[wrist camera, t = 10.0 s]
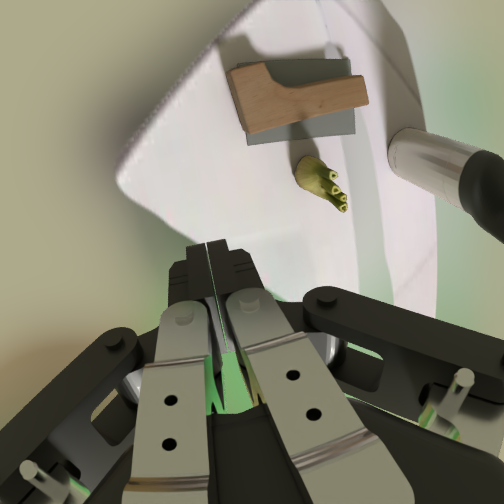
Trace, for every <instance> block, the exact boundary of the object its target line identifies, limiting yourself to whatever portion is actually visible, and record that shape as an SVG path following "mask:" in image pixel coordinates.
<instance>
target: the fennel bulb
mask: <svg viewBox="0 0 504 504" xmlns="http://www.w3.org/2000/svg"><path fill="white" fill-rule="evenodd" d="M337 177H338V173H337V172H335V171H334V170H331V169H329V168H327V166H326V164H325V163H324V162H323V161H321V160H320V159H318V158H315V157H311V156H304V157H303V158H302V159H301V160H300V162H299V164H298V166H297V168H296V171H295V180H296V182H297V184H298V185H299V186H300V187H301V188H303V189H304V190H307V191H309V192H311V193H313V194H315V195H317V196H319V197H321V198H323V199H326V200H328V201H330V202H331V203H332V204H333V205H334V206H335V207H336V208H337V209H338V210H339V211H341V212H343V213H344V212H346V211H347V208H348V207H347V203H346V202H345V201H346V200H347V196H346V194H344V193H342V192H341V189H340V188H339V187H338V186H337V185H336V184H335V183H334V182H333V181H332V180H334V179H336V178H337Z"/></svg>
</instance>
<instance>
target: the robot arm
mask: <svg viewBox="0 0 504 504" xmlns="http://www.w3.org/2000/svg"><path fill="white" fill-rule="evenodd" d="M388 160H389V164H390V167H391V169H392V171H393V172H394V173H395V174H396V175H397V176H398V177H400V178H403V179H405V180H407V181H409V182H411V183H412V184H414V185H416V186H418V187H420V188H422V189H424V190H426V191H428V192H430V193H432V194H434V195H436V196H438V197H440V198H442V199H444V200H445V201H447V202H449V203H451V204H453V205H454V206H456V207H458V208H460V209H462V210H463V211H465V212H467V213H469V214H470V215H472V217H473V218H474V220H475V221H476V222H477V224H478V225H479V226H480V227H482V228H483V229H484V230H485V231H487V232H488V233H490V234H491V235H492V236H494V237H495V238H496V239H498V240H499V241H500V242H502V243H503V244H504V160H503V159H502V158H501V157H500V156H499V155H497V154H494V153H492V152H489V151H486V150H483V149H481V148H478V147H475V146H471V145H468V144H465V143H462V142H459V141H456V140H452V139H449V138H446V137H442V136H439V135H435V134H431V133H428V132H425V131H421V130H417V129H413V128H406V129H402V130H401V131H399V132H398V133H397V134H396V135H395V136H394V137H393V139H392V141H391V143H390V146H389V150H388ZM206 243H207V248H208V254H209V259H210V264H211V270H212V275H213V280H212V275H211V271H210V265H209V261H208V256H207V251H206V246H205V243H202V244H197V245H192V246H187V247H186V255H187V256H186V258H187V260H182V261H178V262H174V264H173V265H172V267H171V268H170V269H169V288H168V308H167V309H166V310H165V311H164V312H163V313H162V315H161V318H160V324H159V326H158V327H157V328H155V329H153V330H151V331H149V332H147V333H145V334H142V335H140V336H137V335H136V333H135V332H134V331H133V330H132V329H130V328H126V327H119V328H114V329H111V330H108V331H106V332H105V333H103V334H102V335H101V336H99V337H98V338H97V339H96V340H95V341H94V342H93V343H92V344H91V345H89V346H88V347H87V348H86V349H85V350H84V351H83V352H82V353H81V354H80V355H79V356H78V357H76V358H75V359H74V360H73V361H72V362H71V363H70V364H69V365H68V366H67V367H66V368H65V369H64V370H62V372H60V374H58V375H57V376H56V377H55V378H54V379H53V380H52V381H51V382H50V383H49V384H48V385H47V386H46V387H45V388H43V389H42V391H40V392H39V393H38V394H37V395H36V396H35V397H34V398H33V399H32V400H31V401H30V402H29V403H28V404H27V405H26V406H25V407H24V408H23V409H22V410H21V411H20V412H19V413H18V414H17V415H16V416H15V417H14V418H13V419H12V420H11V421H10V422H9V423H8V424H7V425H6V426H5V427H4V428H3V429H2V430H1V431H0V504H504V463H503V461H501V460H500V459H499V458H498V455H499V452H500V449H501V445H502V441H503V437H504V340H501V339H498V338H495V337H492V336H489V335H485V334H482V333H479V332H476V331H473V330H469V329H466V328H463V327H460V326H457V325H453V324H450V323H447V322H444V321H441V320H438V319H434V318H431V317H428V316H425V315H422V314H419V313H415V312H412V311H409V310H406V309H403V308H400V307H397V306H393V305H390V304H387V303H384V302H381V301H378V300H375V299H371V298H368V297H365V296H362V295H359V294H356V293H353V292H350V291H347V290H344V289H340V288H337V287H332V286H322V287H317V288H314V289H312V290H310V291H308V292H307V293H306V294H305V295H304V297H303V302H282V301H278V300H275V299H274V297H273V295H272V294H271V293H270V292H269V291H267V290H265V288H264V286H263V284H262V281H261V279H260V277H259V274H258V272H257V270H256V267H255V265H254V263H253V260H252V258H251V256H250V254H249V253H248V252H246V251H245V250H243V249H237V250H232V251H229V249H228V246H227V243H226V240H225V239H221V240H216V241H211V242H206ZM213 281H214V284H213ZM214 285H215V289H214ZM215 290H216V294H215ZM216 296H217V299H216ZM217 300H218V304H217ZM218 305H219V310H220V314H221V318H222V322H223V327H224V331H225V336H226V340H227V344H228V348H229V352H234V351H235V352H236V356H237V360H238V364H239V369H240V372H241V375H242V378H243V381H244V383H245V386H246V389H247V392H248V394H249V397H250V399H251V403H252V405H253V408H251V409H249V410H246V411H244V412H242V413H238V414H227V405H226V396H225V384H224V374H223V370H222V365H223V362H222V357H221V354H224V353H227V349H226V344H225V339H224V334H223V329H222V325H221V320H220V315H219V310H218ZM348 342H350V343H352V344H355V345H358V346H360V347H363V348H365V349H368V350H371V351H373V352H376V353H377V354H379V355H380V356H381V357H382V358H383V360H381V359H378V358H375V357H373V356H370V355H368V354H365V353H362V352H360V351H357V350H355V349H352V348H349V347H347V345H348ZM114 388H115V389H116V391H117V392H118V395H117V396H116V397H115V398H114V399H113V400H112V401H111V402H110V403H109V404H108V405H107V406H106V407H105V409H104V410H103V411H102V412H101V413H100V414H99V415H98V416H97V417H96V418H95V419H94V420H93V421H92V422H91V415H92V413H93V411H94V410H95V408H96V407H97V406H98V405H99V404H100V403H101V402H102V401H103V400H104V399H105V398H106V397H107V396H108V395H109V394H110V393H111V391H113V389H114ZM343 392H344V393H346V394H348V395H351V396H353V397H356V398H358V399H360V400H362V401H360V400H356V399H353V398H348V397H346V396H345V395H344V393H343ZM363 401H365V402H367V403H370V404H372V405H374V406H377V407H379V408H382V409H384V410H386V411H389V412H392V413H394V414H396V415H399V416H401V417H404V418H407V419H409V420H412V421H415V422H417V423H419V426H417V425H415V424H413V423H410V422H408V421H405V420H403V419H401V418H399V417H396V416H394V415H392V414H389V413H387V412H385V411H383V410H380V409H378V408H376V407H374V406H372V405H370V404H367V403H365V402H363Z"/></svg>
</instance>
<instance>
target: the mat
mask: <svg viewBox="0 0 504 504" xmlns="http://www.w3.org/2000/svg"><path fill="white" fill-rule="evenodd" d="M261 62H263V63H264V64H265V66H266V68H267V70H268V71H269V73H270V75H271V77H272V79H273V80H274V81H276V82H278V83H279V84H281V85H283V86H285V87H294V86H298V85H303V84H307V83H312V82H317V81H322V80H327V79H332V78H337V77H343V76H351V75H352V74H351V64H350V59H297V60H276V61H261ZM253 63H257V62H250V63H240V64H237V65H238V67H241V66H245V65H249V64H253ZM348 134H355V115H354V108H351V109H346V110H342V111H337V112H333V113H329V114H325V115H321V116H317V117H313V118H309V119H305V120H301V121H297V122H293V123H290V124H286V125H282V126H279V127H275V128H272V129H268V130H265V131H262V132H258V133H255V134H248V133H246V136H247V144H248V146H250V145H257V144H264V143H271V142H279V141H287V140H296V139H305V138H314V137H325V136H336V135H348Z"/></svg>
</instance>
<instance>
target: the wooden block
mask: <svg viewBox="0 0 504 504" xmlns="http://www.w3.org/2000/svg"><path fill="white" fill-rule="evenodd" d="M226 77H227V80H228V83H229V86H230V89H231V93H232V96H233V99H234V102H235V105H236V109H237V112H238V115H239V119H240V122H241V125H242V128H243V130H244V131H245V132H246V133H248V134H255V133H258V132H262V131H265V130H268V129H272V128H275V127H279V126H282V125H286V124H290V123H293V122H297V121H301V120H305V119H309V118H313V117H317V116H321V115H325V114H329V113H333V112H337V111H342V110H346V109H351V108H355V107H360V106H365V105H368V104H369V100H368V95H367V91H366V86H365V81H364V77H363V76H362V75H351V76H343V77H337V78H332V79H327V80H322V81H317V82H312V83H307V84H303V85H298V86H294V87H285V86H283V85H281V84H279V83H278V82H276V81H274V80H273V79H272V77H271V75H270V73H269V71H268V70H267V68H266V66H265V64H264V63H263V62H257V63H253V64H249V65H245V66H241V67H238V68H234V69H231V70H229V71H228V72H226Z"/></svg>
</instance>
